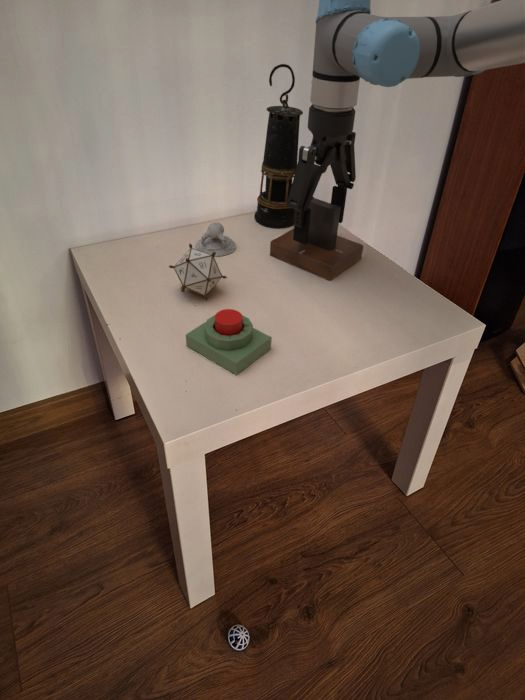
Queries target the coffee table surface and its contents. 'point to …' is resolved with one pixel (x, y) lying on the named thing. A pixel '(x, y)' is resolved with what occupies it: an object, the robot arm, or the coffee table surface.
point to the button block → (229, 345)
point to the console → (317, 255)
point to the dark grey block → (323, 223)
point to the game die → (198, 271)
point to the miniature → (215, 241)
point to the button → (228, 322)
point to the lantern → (279, 162)
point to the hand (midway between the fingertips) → (318, 230)
